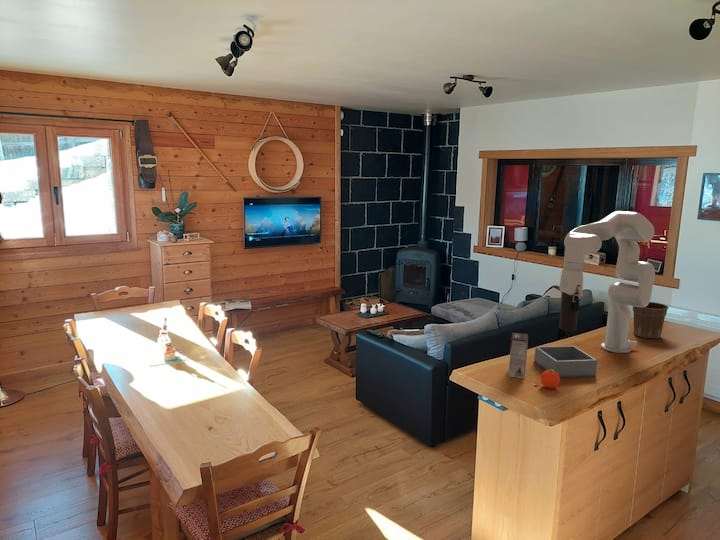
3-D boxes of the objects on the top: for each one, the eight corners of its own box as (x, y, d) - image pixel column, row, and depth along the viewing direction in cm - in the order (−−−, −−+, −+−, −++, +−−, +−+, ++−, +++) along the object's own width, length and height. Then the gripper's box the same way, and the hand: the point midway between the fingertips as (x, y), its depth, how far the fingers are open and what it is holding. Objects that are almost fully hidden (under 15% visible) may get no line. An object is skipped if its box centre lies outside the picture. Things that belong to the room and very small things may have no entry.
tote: (572, 360, 224) (573, 345, 223) (595, 376, 207) (597, 360, 206) (534, 362, 222) (535, 346, 220) (554, 378, 205) (556, 361, 203)
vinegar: (563, 325, 216) (567, 279, 212) (579, 329, 211) (584, 281, 207) (555, 328, 211) (559, 281, 208) (571, 332, 206) (576, 284, 203)
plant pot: (623, 334, 263) (626, 304, 260) (636, 328, 273) (639, 299, 270) (657, 342, 251) (661, 310, 248) (669, 336, 261) (673, 305, 258)
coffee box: (509, 368, 214) (512, 331, 211) (525, 370, 212) (528, 333, 209) (508, 376, 205) (511, 338, 202) (524, 379, 203) (528, 340, 200)
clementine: (545, 381, 201) (546, 364, 200) (563, 386, 196) (564, 369, 195) (536, 387, 195) (538, 370, 194) (555, 393, 191) (556, 375, 189)
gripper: (554, 262, 214) (550, 303, 217) (576, 270, 197) (572, 315, 200) (570, 262, 215) (566, 303, 218) (594, 270, 198) (590, 314, 201)
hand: (569, 308), depth 209 cm, fingers closed on vinegar, 6 cm apart
